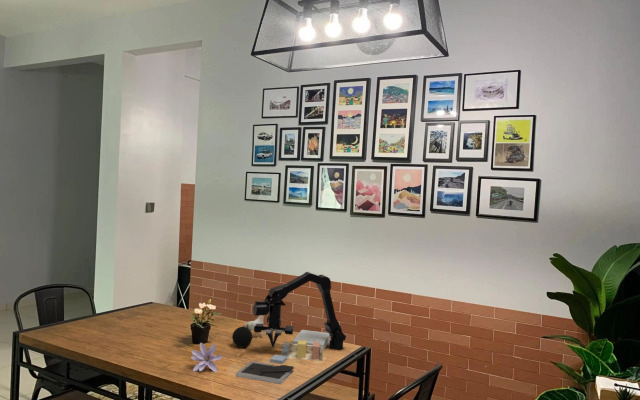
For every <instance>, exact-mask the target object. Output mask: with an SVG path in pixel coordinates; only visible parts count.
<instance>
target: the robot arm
mask: <svg viewBox="0 0 640 400" xmlns="http://www.w3.org/2000/svg"><path fill="white" fill-rule="evenodd" d="M309 282H312V283H314V284H316V286H317V289H318V291H319V292H320V294H321V298H322V304H323V307H324V311H325V312H324V313H325V316H326V322H324V323H323V325H324V327H325V328H324V331H326V333H329V335H330V342H329V344H328V345H329V349H331V350H334V351H341V350H343V349H344V341H346V338H347V336H346V335H345V333H344V332H343V330H342V327H341V325H340V323H339V321H338V319H337V317H336V312H335V309H334V303H333V299H332V298H333V297H332V294H331V289H332V281H331V278H330V277H328V276H326V275H324V274H318V275H317V274H314V273H311V272H309V271H306V272H304V273H303V274H301V275H299V276H297V277H296V278H294V279H291V280H290V281H288V282H286V283H284V284H282V285H280V284H279V285H277V286H274V287H272V288H270V289H269V290H268V294H267V295H266V296H265V298H264V299H263V300H255V301H254V304H253V307H252V312H253V316H255V317H259V316H261V315H264V316H266V317H267V318H266V323H268V325H267V326H265V325H264V323H263V324H256V325H255V327H254V329H253V333H256V332H257V334H258V333H260V334H261V333H262V332H263V330H265V331H266V332H265V335H267V337H268V338H269V342H270V344H271V348H274V347H275V344H276V342H277V339H278V337H279V336H282V333H283V332H284V333H285V335H291V336H293V335H294V331H295V330H294V329H295V327H294V326H293V325H285V326H283V327H282V319H281V318H282V317H281V315H282V306H284V307H285V306H286V303H285V302H284V299H285V298H286V297H287V296H288V295H289V293H291V292H293V291H294V290H296V289H298V288H300V287H302V286H303V285H305V284H307V283H309ZM274 332H275V333H274Z"/></svg>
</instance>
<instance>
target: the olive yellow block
mask: <svg viewBox="0 0 640 400" xmlns="http://www.w3.org/2000/svg"><path fill="white" fill-rule="evenodd" d="M306 347H307V341H304V340H299V341H298V347H297V358H305V357H306Z"/></svg>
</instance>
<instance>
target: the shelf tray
mask: <svg viewBox="0 0 640 400" xmlns="http://www.w3.org/2000/svg"><path fill="white" fill-rule="evenodd" d="M283 344H284V342H283V343H282V344H281V353H280V355H281V356H282V350H283ZM297 347H298V344H292V343H290V353H289V357H287V360H288V359H290V360H306V361H319V362H322V361H323V353H324V351H323V346H320V351H319V359H312V358H313V345H307V347H306V357H305V358H297Z"/></svg>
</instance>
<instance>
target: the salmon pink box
mask: <svg viewBox="0 0 640 400" xmlns="http://www.w3.org/2000/svg"><path fill="white" fill-rule="evenodd" d="M319 351H320V342H314V344H313V358H312V359H319Z"/></svg>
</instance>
